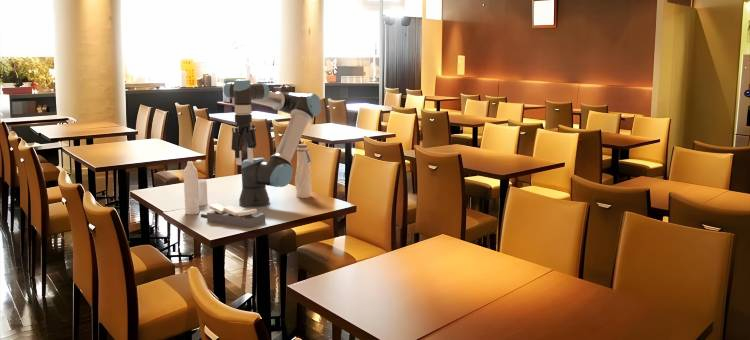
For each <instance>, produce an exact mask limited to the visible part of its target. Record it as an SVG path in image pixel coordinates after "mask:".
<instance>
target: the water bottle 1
mask: <svg viewBox="0 0 750 340" xmlns="http://www.w3.org/2000/svg"><path fill="white" fill-rule="evenodd" d="M195 163H197V164H202V159H197V160H195ZM198 173H199V172H198V169H197V168H196V166H195V164H194V163H193V161H190V160H188V161H187V164H186V166H185V168H184V169H183V173H182V175H183V191H184V208H185V209H184V211H185V214H186V215H196V214H199V213H200V206H199V196H198V195H199V192H198V179H199V174H198Z"/></svg>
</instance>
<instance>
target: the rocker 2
mask: <svg viewBox="0 0 750 340" xmlns="http://www.w3.org/2000/svg"><path fill="white" fill-rule="evenodd" d="M223 210H224V211H226V212H228V213H230V214H232V215H234V216H237V213H240V212H242V211H244V210H243V209H241V208H238V207H236V206H234V205H232V204H230V205H227V206H224V208H223Z"/></svg>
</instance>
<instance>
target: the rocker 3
mask: <svg viewBox="0 0 750 340" xmlns="http://www.w3.org/2000/svg"><path fill="white" fill-rule="evenodd" d="M255 212H257V213H258V208H251V209H247V210H246V209H245V210H243V211H242V212H240V213H237V215H238V216H243V215H249V214H252V213H255Z"/></svg>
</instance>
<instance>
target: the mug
mask: <svg viewBox="0 0 750 340" xmlns="http://www.w3.org/2000/svg"><path fill="white" fill-rule="evenodd" d="M198 192H199V195H198V196H199V207H203V206H207V205H208V204H209V202H208V182H207V179H203V178H201V179H199V178H198Z"/></svg>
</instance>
